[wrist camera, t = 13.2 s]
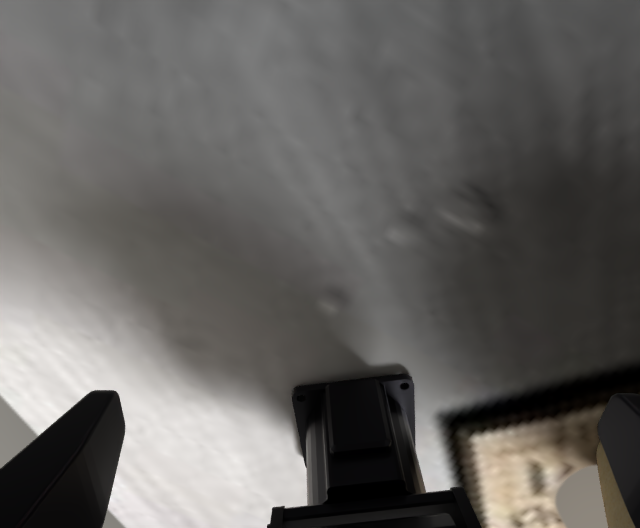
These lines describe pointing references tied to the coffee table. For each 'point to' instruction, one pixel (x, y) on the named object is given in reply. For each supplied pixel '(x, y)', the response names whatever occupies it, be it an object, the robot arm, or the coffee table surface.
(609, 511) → the plant pot
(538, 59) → the coffee table surface
